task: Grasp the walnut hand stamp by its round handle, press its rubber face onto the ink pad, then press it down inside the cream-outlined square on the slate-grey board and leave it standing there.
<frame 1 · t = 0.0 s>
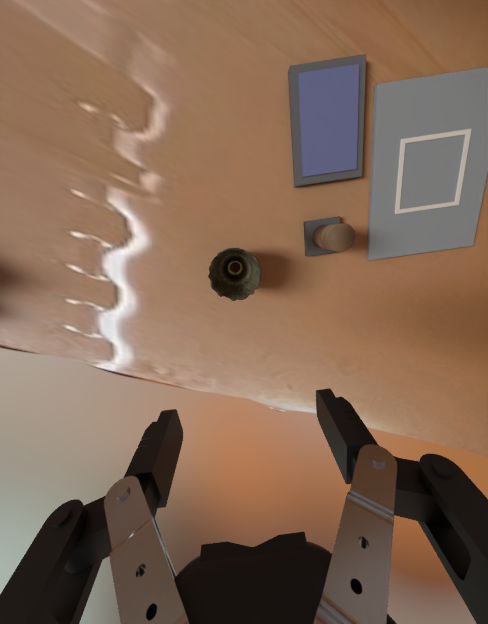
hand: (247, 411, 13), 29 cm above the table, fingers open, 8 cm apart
stamp: (320, 236, 38), on the table
cup: (235, 267, 39), on the table
ink pad: (325, 128, 33), on the table
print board: (427, 174, 35), on the table
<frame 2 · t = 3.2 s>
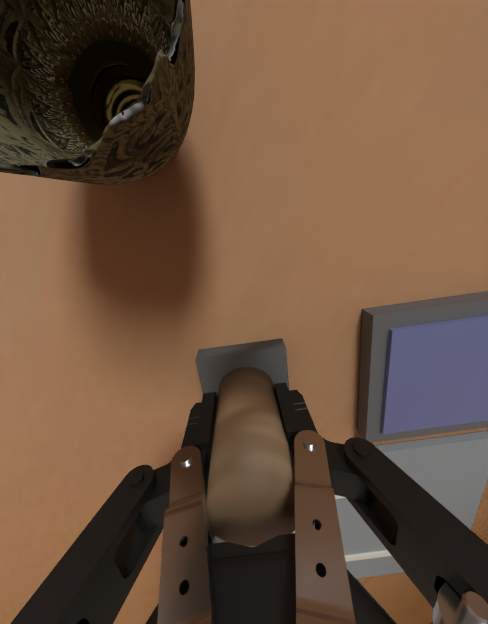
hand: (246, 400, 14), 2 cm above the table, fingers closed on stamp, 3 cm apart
stamp: (245, 379, 16), on the table, touching gripper
cup: (141, 125, 11), on the table
ink pad: (459, 361, 16), on the table
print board: (343, 519, 21), on the table
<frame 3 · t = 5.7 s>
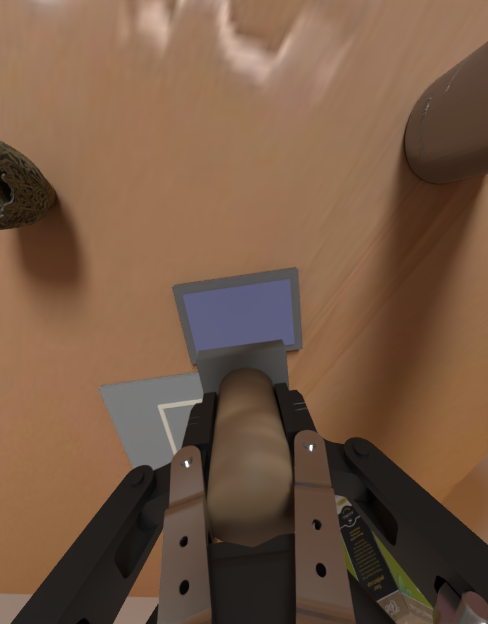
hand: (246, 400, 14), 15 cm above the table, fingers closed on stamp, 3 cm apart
stamp: (245, 380, 16), point 13 cm above the table, touching gripper
cup: (41, 194, 23), on the table
tea box: (331, 510, 41), on the table
ink pad: (241, 316, 28), on the table
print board: (202, 424, 33), on the table
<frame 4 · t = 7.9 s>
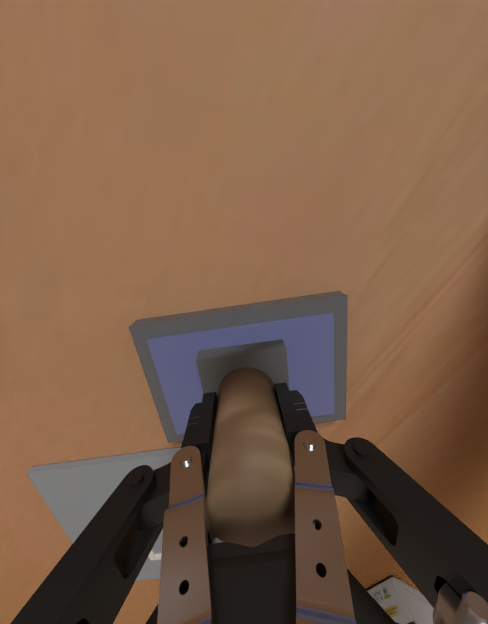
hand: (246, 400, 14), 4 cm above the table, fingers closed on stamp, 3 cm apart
stamp: (245, 379, 16), point 1 cm above the table, touching gripper, ink pad
tea box: (367, 606, 30), on the table
ink pad: (247, 367, 17), on the table
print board: (189, 514, 23), on the table
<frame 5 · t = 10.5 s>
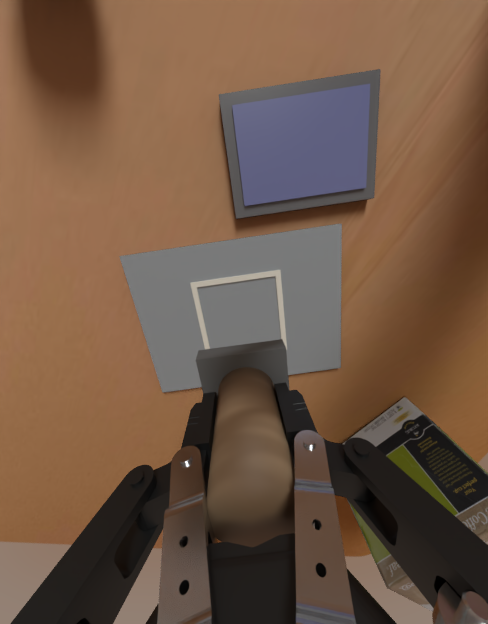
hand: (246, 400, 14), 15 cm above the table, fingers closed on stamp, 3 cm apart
stamp: (245, 379, 16), point 13 cm above the table, touching gripper
tea box: (381, 439, 36), on the table
ink pad: (298, 154, 22), on the table
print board: (241, 316, 28), on the table
when the fingers open (3 cm above the table, at t = 12.9 s): stamp stays where it is, resting on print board.
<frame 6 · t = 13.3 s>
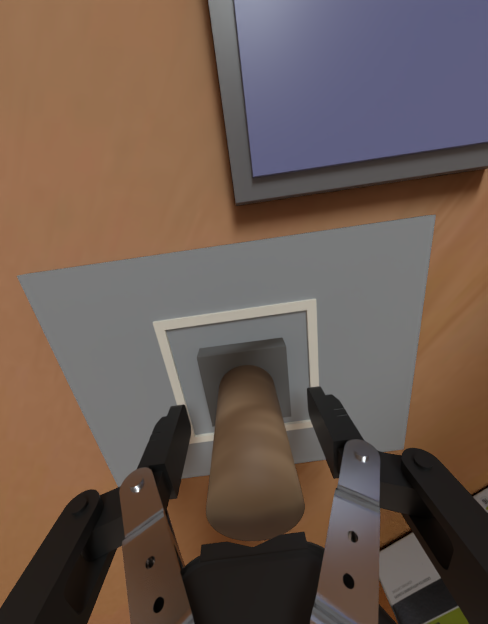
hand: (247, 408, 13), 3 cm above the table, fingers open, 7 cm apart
stamp: (246, 377, 16), point 1 cm above the table, touching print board
tea box: (448, 534, 24), on the table
ink pad: (363, 71, 11), on the table
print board: (244, 373, 16), on the table
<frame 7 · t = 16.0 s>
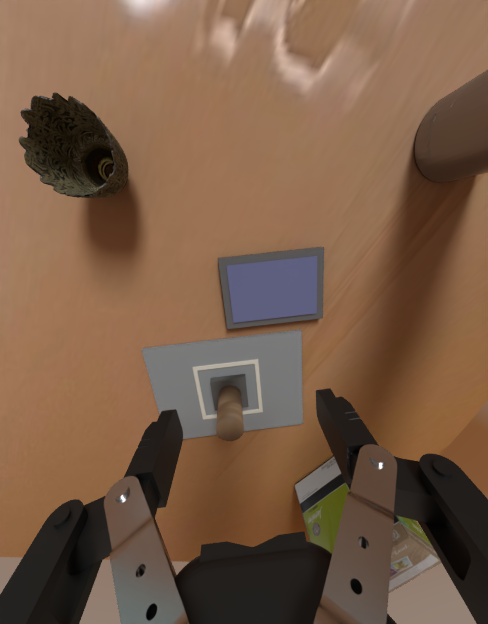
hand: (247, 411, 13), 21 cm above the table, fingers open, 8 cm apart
stamp: (229, 390, 37), point 1 cm above the table, touching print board
cup: (113, 173, 27), on the table
tea box: (336, 473, 46), on the table
ink pad: (271, 288, 32), on the table
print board: (229, 387, 37), on the table
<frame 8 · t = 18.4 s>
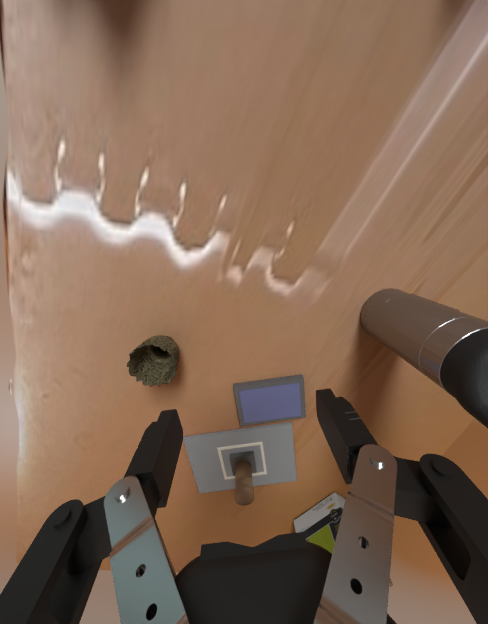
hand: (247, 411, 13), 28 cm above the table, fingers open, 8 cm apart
stamp: (243, 460, 52), point 1 cm above the table, touching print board
cup: (166, 342, 42), on the table
tea box: (324, 511, 61), on the table
ink pad: (270, 399, 47), on the table
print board: (242, 458, 53), on the table
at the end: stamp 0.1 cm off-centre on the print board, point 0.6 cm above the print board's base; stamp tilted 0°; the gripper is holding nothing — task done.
